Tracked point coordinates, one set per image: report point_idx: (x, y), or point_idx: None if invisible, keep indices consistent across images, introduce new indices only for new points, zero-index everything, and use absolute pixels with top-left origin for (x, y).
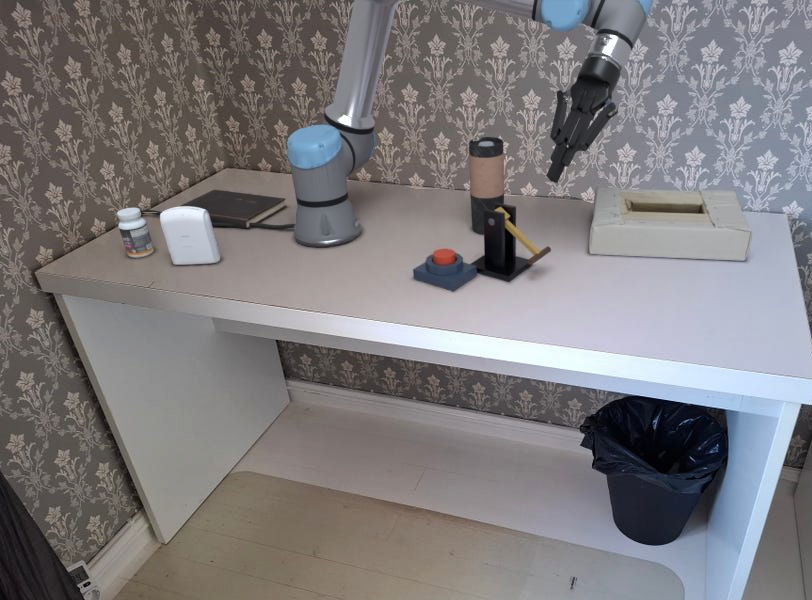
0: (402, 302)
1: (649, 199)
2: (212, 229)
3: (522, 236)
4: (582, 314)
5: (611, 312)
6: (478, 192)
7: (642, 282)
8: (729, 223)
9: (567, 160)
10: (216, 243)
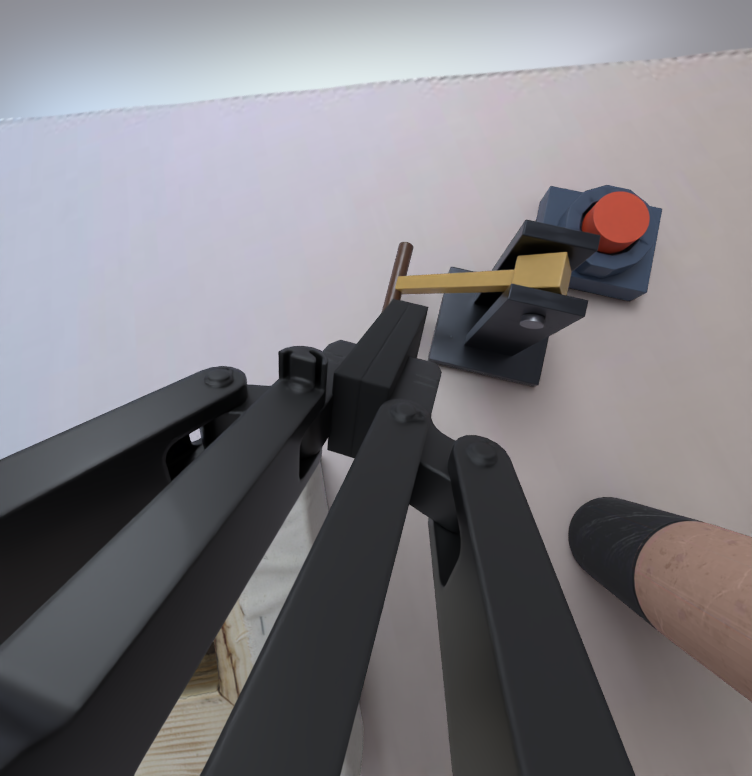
0: (613, 131)
1: (166, 723)
2: None
3: (449, 278)
4: (279, 196)
5: (231, 219)
6: (719, 527)
7: (192, 353)
8: None
9: (330, 349)
10: None
